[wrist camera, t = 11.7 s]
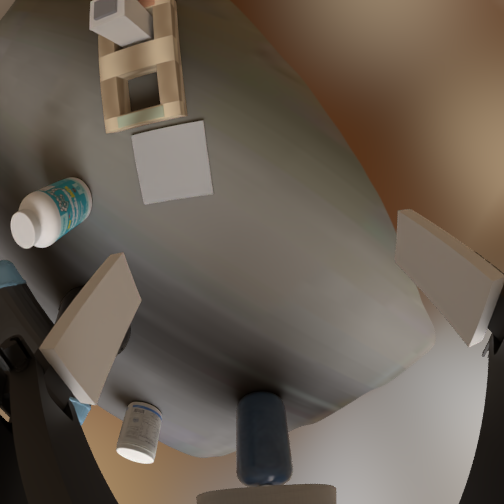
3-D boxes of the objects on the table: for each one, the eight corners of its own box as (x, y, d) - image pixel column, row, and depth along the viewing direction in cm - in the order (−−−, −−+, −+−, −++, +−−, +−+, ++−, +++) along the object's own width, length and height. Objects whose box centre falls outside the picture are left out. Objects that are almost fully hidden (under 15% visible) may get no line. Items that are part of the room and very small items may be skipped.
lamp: (333, 397, 58) (371, 556, 19) (254, 433, 65) (261, 570, 26) (268, 348, 49) (292, 585, 11) (182, 396, 56) (162, 569, 17)
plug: (130, 51, 27) (86, 28, 16) (129, 29, 26) (87, -1, 14) (157, 43, 27) (122, 13, 16) (156, 20, 26) (122, -15, 14)
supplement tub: (149, 421, 62) (140, 465, 49) (121, 405, 59) (108, 449, 46) (170, 414, 60) (162, 462, 47) (141, 396, 57) (128, 446, 43)
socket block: (117, 132, 32) (103, 134, 28) (108, 23, 25) (95, 15, 21) (187, 115, 32) (180, 114, 28) (176, 2, 24) (169, -10, 21)
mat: (145, 203, 37) (144, 204, 37) (132, 135, 33) (131, 135, 32) (213, 193, 37) (213, 194, 36) (203, 120, 33) (203, 120, 32)
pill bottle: (98, 218, 38) (50, 258, 25) (63, 224, 38) (14, 261, 25) (89, 171, 34) (33, 195, 22) (54, 180, 34) (-2, 206, 22)
